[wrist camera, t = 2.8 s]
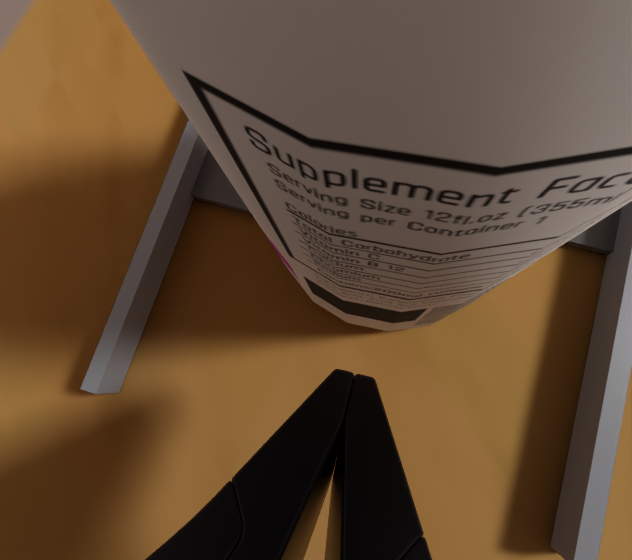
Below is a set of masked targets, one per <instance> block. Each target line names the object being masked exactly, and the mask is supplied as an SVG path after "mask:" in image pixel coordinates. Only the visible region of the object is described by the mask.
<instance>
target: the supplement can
mask: <svg viewBox="0 0 632 560" xmlns="http://www.w3.org/2000/svg"><path fill="white" fill-rule="evenodd" d="M110 1H111V2H112V4H113V5H114V7H115V8H116V10H117V11H118V13H119V14H120V16H121V17H122V19H123V20H124V22H125V24H126V25H127V27H128V28H129V30H130V31H131V33H132V34H133V36H134V37H135V39H136V40H137V42H138V43H139V45H140V46H141V48H142V49H143V51H144V52H145V54H146V55H147V57H148V58H149V60H150V61H151V63H152V64H153V66H154V67H155V69H156V70H157V72H158V73H159V75H160V76H161V78H162V79H163V81H164V82H165V84H166V85H167V87H168V88H169V90H170V91H171V93H172V94H173V96H174V98H175V99H176V101H177V102H178V104H179V105H180V107H181V108H182V110H183V111H184V113H185V114H186V116H187V117H188V119H189V120H190V122H191V123H192V125H193V126H194V128H195V129H196V131H197V132H198V134H199V135H200V137H201V138H202V140H203V141H204V143H205V144H206V146H207V147H208V149H209V150H210V152H211V153H212V155H213V156H214V158H215V159H216V161H217V162H218V164H219V165H220V167H221V169H222V170H223V172H224V173H225V175H226V176H227V178H228V179H229V181H230V182H231V184H232V185H233V187H234V188H235V190H236V191H237V193H238V194H239V196H240V197H241V199H242V200H243V202H244V203H245V205H246V206H247V208H248V209H249V211H250V212H251V214H252V215H253V217H254V218H255V220H256V221H257V223H258V224H259V226H260V227H261V229H262V230H263V232H264V233H265V235H266V236H267V238H268V239H269V241H270V243H271V244H272V246H273V247H274V249H275V250H276V252H277V253H278V255H279V256H280V258H281V259H282V261H283V262H284V264H285V265H286V267H287V268H288V270H289V271H290V272H291V274H292V275H293V276H294V278H295V279H296V280H297V282H298V283H299V284H300V285H301V287H302V288H303V289H304V291H305V292H306V293H307V294H308V296H309V297H310V298H311V300H312V301H313V302H315V303H316V304H318V305H319V306H321V307H323V308H324V309H326V310H327V311H329V312H331V313H332V314H334V315H336V316H337V317H339V318H340V319H342V320H344V321H345V322H347V323H351V324H355V325H360V326H365V327H369V328H374V329H379V330H384V331H394V330H401V329H409V328H416V327H423V326H430V325H432V324H433V323H435V322H437V321H439V320H441V319H443V318H445V317H447V316H448V315H450V314H452V313H454V312H456V311H458V310H460V309H462V308H463V307H465V306H467V305H469V304H470V303H472V302H473V301H475V300H476V299H478V298H480V297H481V296H483V295H484V294H486V293H487V292H489V291H491V290H492V289H494V288H495V287H497V286H498V285H500V284H502V283H503V282H505V281H506V280H508V279H509V278H511V277H513V276H514V275H516V274H517V273H519V272H521V271H522V270H524V269H525V268H527V267H528V266H530V265H532V264H533V263H535V262H536V261H538V260H539V259H541V258H543V257H544V256H546V255H547V254H549V253H550V252H552V251H554V250H555V249H557V248H558V247H560V246H561V245H563V244H565V243H566V242H568V241H569V240H571V239H572V238H574V237H576V236H577V235H579V234H580V233H582V232H584V231H585V230H587V229H588V228H590V227H591V226H593V225H595V224H596V223H598V222H599V221H601V220H602V219H604V218H606V217H607V216H609V215H610V214H612V213H613V212H615V211H617V210H618V209H620V208H621V207H623V206H624V205H626V204H628V203H629V202H631V201H632V0H110Z"/></svg>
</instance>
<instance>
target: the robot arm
mask: <svg viewBox="0 0 632 560" xmlns="http://www.w3.org/2000/svg"><path fill="white" fill-rule="evenodd" d="M352 384H353V385H352ZM336 458H337V459H336ZM335 463H336V464H335ZM334 467H335V469H334ZM333 471H334V474H333ZM332 475H333V480H332V488H331V498H330V508H329V518H328V529H327V539H326V550H325V560H432V558H431V555H430V552H429V549H428V545H427V542H426V539H425V538H424V537H423V530H422V527H421V524H420V521H419V517H418V514H417V511H416V508H415V505H414V502H413V498H412V495H411V492H410V489H409V486H408V482H407V479H406V476H405V473H404V470H403V467H402V463H401V460H400V457H399V454H398V451H397V447H396V444H395V441H394V438H393V435H392V432H391V428H390V425H389V422H388V419H387V416H386V412H385V409H384V406H383V403H382V400H381V397H380V393H379V390H378V387H377V384H376V381H375V379H374V378H372V377H369V376H365V375H360V374H356V375H355V376H354V374H353V373H352V372H348V371H344V370H340V369H335V370H334V371H333V372H332V373H331V374H330V375H329V376H328V377H327V378H326V379H325V380H324V381H323V382H322V383H321V384H320V385H319V386H318V388H317V389H316V390H315V391H314V392H313V393H312V394H311V395H310V396H309V397H308V398H307V399H306V400H305V401H304V402H303V403H302V405H301V406H300V407H299V408H298V409H297V410H296V411H295V412H294V413H293V414H292V415H291V416H290V417H289V418H288V419H287V420H286V421H285V423H284V424H283V425H282V426H281V427H280V428H279V429H278V430H277V431H276V432H275V433H274V434H273V435H272V436H271V437H270V438H269V440H268V441H267V442H266V443H265V444H264V445H263V446H262V447H261V448H260V449H259V450H258V451H257V452H256V453H255V454H254V455H253V456H252V458H251V459H250V460H249V461H248V462H247V463H246V464H245V465H244V466H243V467H242V468H241V469H240V470H239V471H238V472H237V473H236V474H235V476H234V477H233V478H232V482H231V481H229V482H228V483H227V484H226V485H225V486H224V487H223V488H222V489H221V490H220V491H219V492H218V493H217V494H216V495H215V496H214V497H213V498H212V499H211V500H210V501H209V502H208V503H207V504H206V505H205V506H204V507H203V508H202V509H201V510H200V511H199V512H198V513H197V514H196V515H195V516H194V517H193V518H192V519H191V520H190V521H189V522H188V523H187V524H186V525H185V526H183V527H182V528H181V529H180V530H179V531H178V532H177V533H176V534H174V535H173V536H172V537H171V538H170V539H169V540H168V541H167V542H165V543H164V544H163V545H162V546H161V547H160V548H158V549H157V550H156V551H155V552H154V553H152V554H151V555H150V556H149V557H148V558H147V559H145V560H303V559H304V556H305V553H306V550H307V548H308V545H309V542H310V539H311V536H312V533H313V531H314V528H315V525H316V522H317V519H318V516H319V514H320V511H321V508H322V505H323V502H324V499H325V497H326V494H327V491H328V488H329V485H330V482H331V479H332Z"/></svg>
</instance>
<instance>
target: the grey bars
mask: <svg viewBox="0 0 632 560" xmlns="http://www.w3.org/2000/svg"><path fill="white" fill-rule="evenodd" d="M194 199H196V200H200V201H204V202H208V203H211V204H215V205H219V206H222V207H226V208H230V209H233V210H237V211H241V212H244V213H248V214H251V212H250V211H249V209H248V208H247V206H246V205H245V203H244V202H243V200H242V199H241V197H240V196H239V194H238V193H237V191H236V190H235V188H234V187H233V185H232V184H231V182H230V181H229V179H228V178H227V176H226V175H225V173H224V172H223V170H222V169H221V167H220V165H219V164H218V162H217V161H216V159H215V158H214V156H213V155H212V153H211V152H210V150H209V149H208V147H207V146H206V144H205V143H204V141H203V140H202V138H201V137H200V135H199V134H198V132H197V131H196V129H195V128H194V126H193V125H192V123H191V122H190V120H188V122H187V125H186V127H185V130H184V132H183V135H182V137H181V140H180V142H179V144H178V147H177V149H176V152H175V154H174V157H173V159H172V162H171V164H170V167H169V169H168V172H167V174H166V177H165V179H164V182H163V184H162V187H161V189H160V192H159V194H158V197H157V199H156V202H155V204H154V207H153V209H152V212H151V214H150V217H149V219H148V222H147V224H146V227H145V229H144V232H143V234H142V237H141V239H140V242H139V244H138V246H137V249H136V251H135V254H134V256H133V259H132V261H131V264H130V266H129V269H128V271H127V274H126V276H125V279H124V281H123V284H122V286H121V289H120V291H119V294H118V296H117V299H116V301H115V304H114V306H113V309H112V311H111V314H110V316H109V319H108V321H107V324H106V326H105V329H104V331H103V334H102V336H101V339H100V341H99V343H98V346H97V348H96V351H95V353H94V356H93V358H92V361H91V363H90V366H89V368H88V371H87V373H86V376H85V378H84V381H83V383H82V386H81V388H80V389H82V390H85V391H88V392H90V393H93V394H107V393H119V392H120V389H121V387H122V384H123V382H124V379H125V376H126V374H127V371H128V369H129V366H130V363H131V361H132V358H133V356H134V353H135V350H136V348H137V345H138V343H139V340H140V337H141V335H142V332H143V330H144V327H145V324H146V322H147V319H148V317H149V314H150V311H151V309H152V306H153V304H154V301H155V298H156V296H157V293H158V291H159V288H160V286H161V283H162V280H163V278H164V275H165V273H166V270H167V267H168V265H169V262H170V260H171V257H172V254H173V252H174V249H175V247H176V244H177V241H178V239H179V236H180V234H181V231H182V228H183V226H184V223H185V221H186V218H187V215H188V213H189V210H190V208H191V205H192V202H193V200H194ZM565 245H569V246H573V247H577V248H581V249H585V250H589V251H593V252H597V253H601V254H605V255H607V257H606V262H605V267H604V272H603V278H602V283H601V288H600V293H599V298H598V303H597V308H596V313H595V319H594V324H593V329H592V334H591V339H590V344H589V349H588V355H587V360H586V365H585V370H584V375H583V380H582V385H581V390H580V396H579V401H578V406H577V411H576V416H575V421H574V426H573V431H572V437H571V442H570V447H569V452H568V457H567V462H566V467H565V472H564V478H563V483H562V488H561V493H560V498H559V503H558V508H557V513H556V519H555V524H554V529H553V534H552V539H551V544H550V546H551V547H552V548H553V549H554V550H555V551H556V552H557V553H558V554H559V555H561V556H562V557H563V558H564V559H565V560H597V559H598V554H599V548H600V542H601V537H602V531H603V525H604V520H605V514H606V508H607V502H608V497H609V491H610V485H611V480H612V474H613V468H614V463H615V457H616V451H617V446H618V440H619V434H620V428H621V423H622V417H623V411H624V406H625V400H626V394H627V389H628V383H629V377H630V372H631V366H632V201H631V202H629V203H628V204H626V205H624V206H623V207H621V208H620V209H618V210H617V211H615V212H613V213H612V214H610V215H609V216H607V217H606V218H604V219H602V220H601V221H599V222H598V223H596V224H595V225H593V226H591V227H590V228H588V229H587V230H585V231H584V232H582V233H580V234H579V235H577V236H576V237H574V238H572V239H571V240H569V241H568V242H566V243H565Z"/></svg>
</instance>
